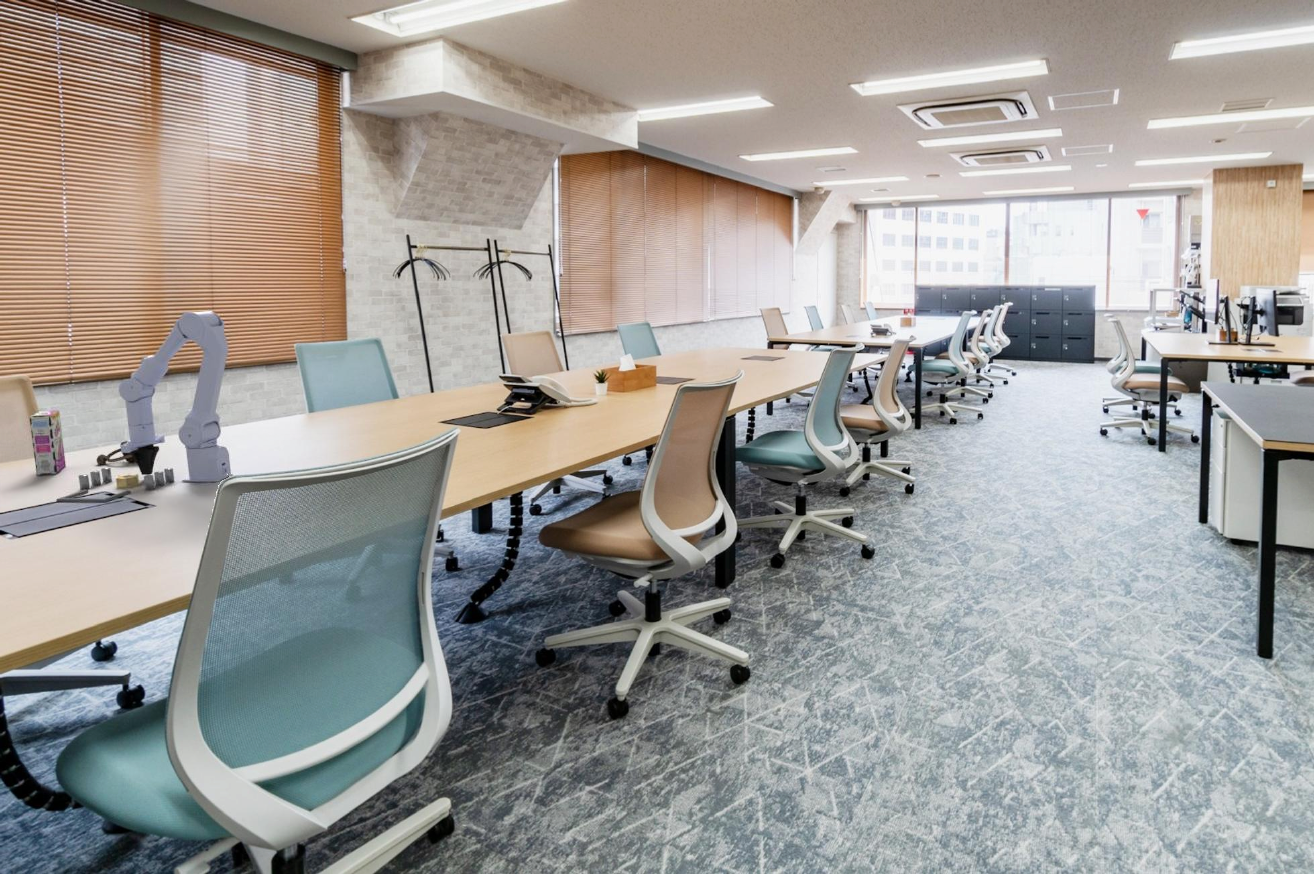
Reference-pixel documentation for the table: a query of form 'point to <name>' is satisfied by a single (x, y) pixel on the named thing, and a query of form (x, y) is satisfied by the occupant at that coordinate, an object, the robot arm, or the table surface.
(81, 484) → the metal pins
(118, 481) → the nut
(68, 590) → the table surface
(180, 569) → the table surface
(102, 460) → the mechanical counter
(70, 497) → the frame
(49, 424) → the candy bar box
